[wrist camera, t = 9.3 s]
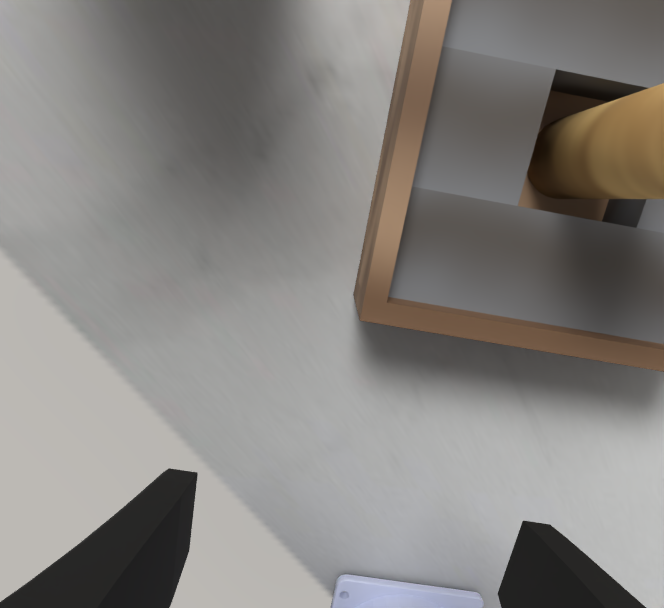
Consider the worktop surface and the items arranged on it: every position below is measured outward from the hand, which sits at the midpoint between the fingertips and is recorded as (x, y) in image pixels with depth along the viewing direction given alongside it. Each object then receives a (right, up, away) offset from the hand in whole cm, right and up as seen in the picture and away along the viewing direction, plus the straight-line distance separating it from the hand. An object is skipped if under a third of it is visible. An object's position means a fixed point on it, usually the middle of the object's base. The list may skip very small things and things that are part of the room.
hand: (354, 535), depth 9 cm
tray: (+9, +11, +8) cm, 16 cm away
